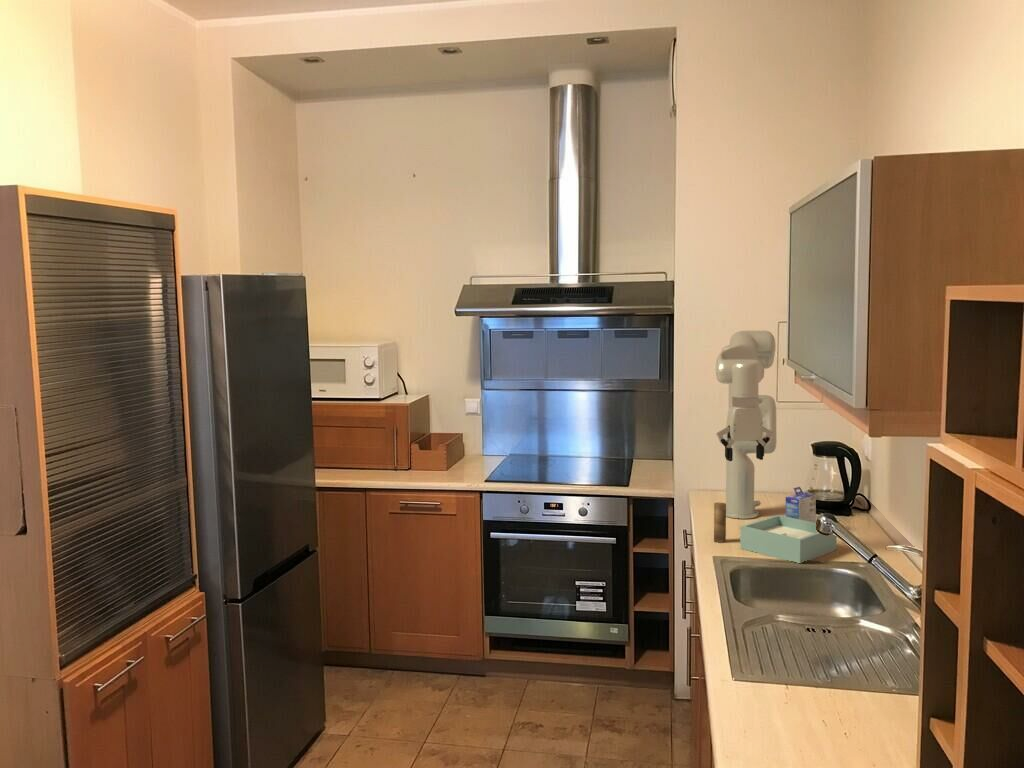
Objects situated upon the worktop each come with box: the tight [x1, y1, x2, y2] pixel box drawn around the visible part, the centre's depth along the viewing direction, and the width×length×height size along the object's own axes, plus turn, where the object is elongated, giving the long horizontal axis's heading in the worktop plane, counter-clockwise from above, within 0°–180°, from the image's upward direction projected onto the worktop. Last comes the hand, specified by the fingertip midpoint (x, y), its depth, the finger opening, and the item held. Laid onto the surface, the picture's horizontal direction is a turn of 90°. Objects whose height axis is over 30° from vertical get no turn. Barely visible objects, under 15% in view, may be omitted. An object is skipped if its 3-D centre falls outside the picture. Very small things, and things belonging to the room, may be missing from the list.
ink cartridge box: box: [785, 486, 817, 523], centre depth 269 cm, size 10×6×14 cm, turn 129°
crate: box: [739, 514, 838, 564], centre depth 250 cm, size 20×20×7 cm
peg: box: [713, 502, 727, 544], centre depth 259 cm, size 4×4×12 cm
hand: (744, 459), depth 248 cm, fingers open, 9 cm apart
